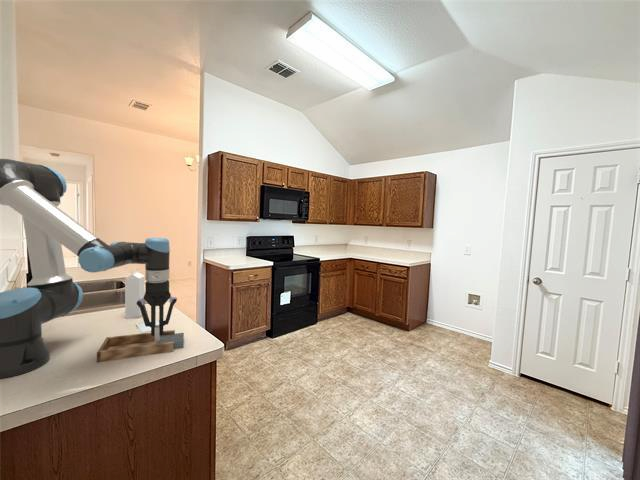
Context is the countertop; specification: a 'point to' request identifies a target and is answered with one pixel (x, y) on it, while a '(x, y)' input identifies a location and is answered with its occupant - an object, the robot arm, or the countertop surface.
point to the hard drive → (145, 329)
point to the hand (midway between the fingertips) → (157, 343)
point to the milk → (133, 294)
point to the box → (132, 346)
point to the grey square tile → (173, 339)
